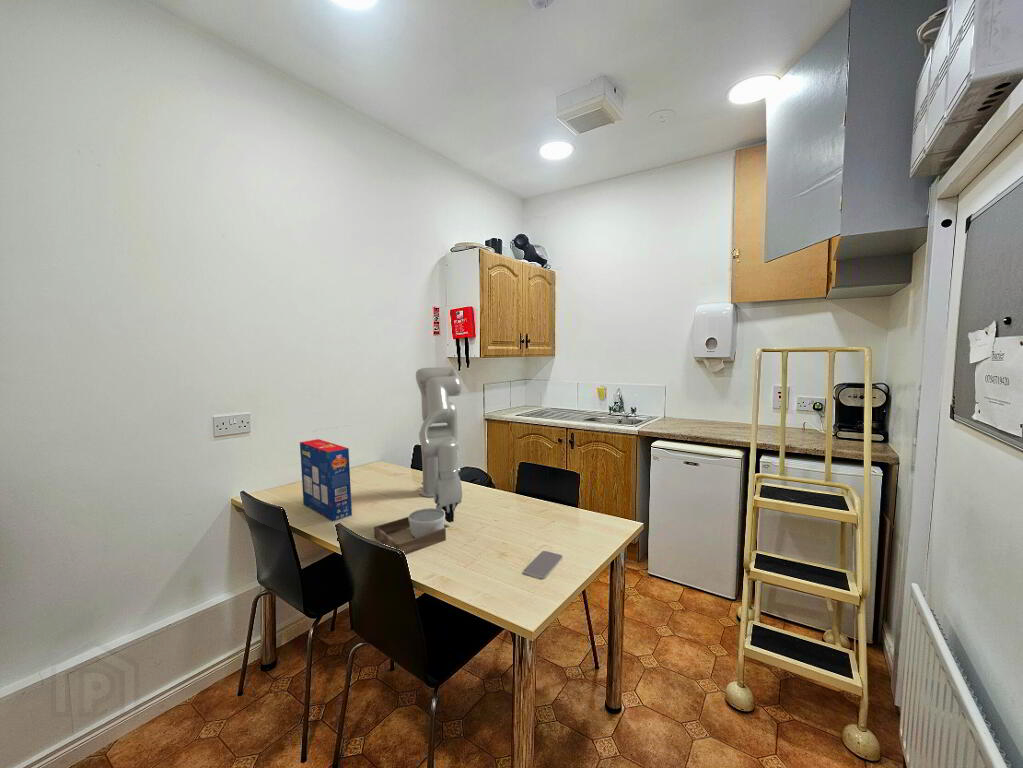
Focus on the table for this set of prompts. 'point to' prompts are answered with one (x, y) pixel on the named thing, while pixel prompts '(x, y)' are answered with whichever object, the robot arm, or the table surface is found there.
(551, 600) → the table surface
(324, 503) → the blue cardboard box
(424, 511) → the ramekin
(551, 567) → the smartphone
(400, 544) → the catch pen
